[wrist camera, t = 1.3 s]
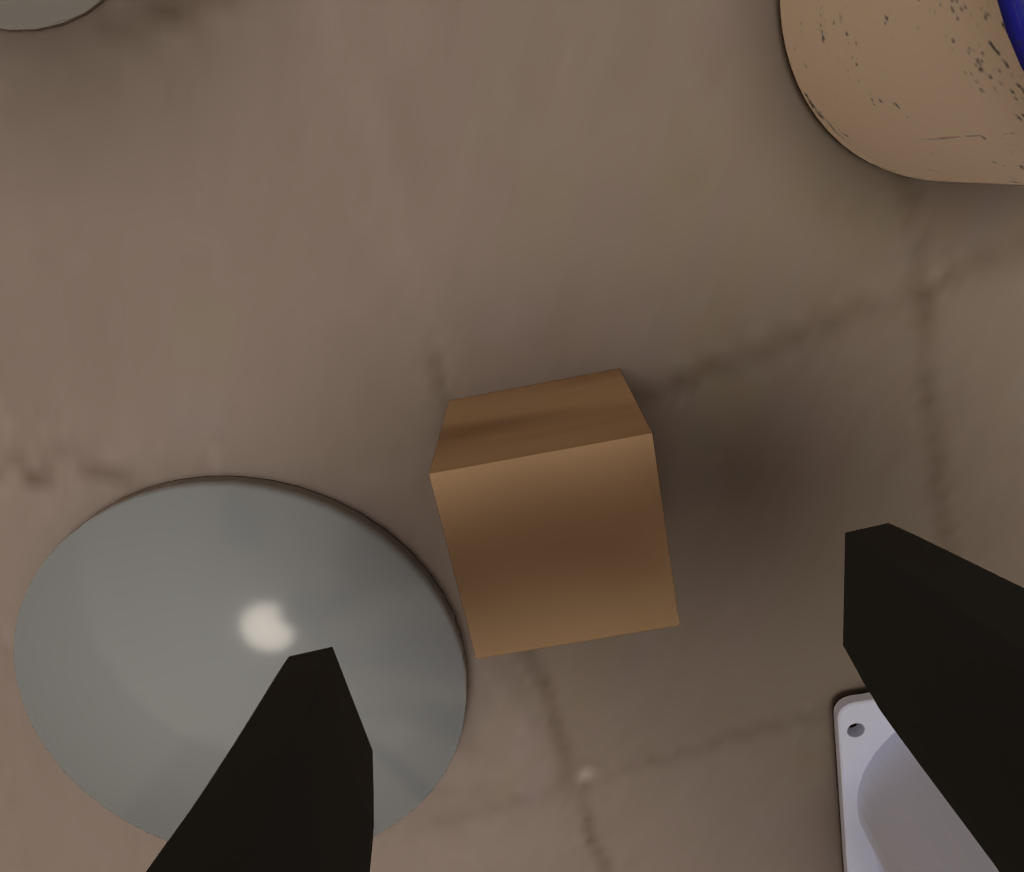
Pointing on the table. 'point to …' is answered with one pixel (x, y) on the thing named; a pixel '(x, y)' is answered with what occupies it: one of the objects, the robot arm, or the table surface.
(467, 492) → the walnut block
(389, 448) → the table surface
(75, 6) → the wine glass
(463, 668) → the slate dish
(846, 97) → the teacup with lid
